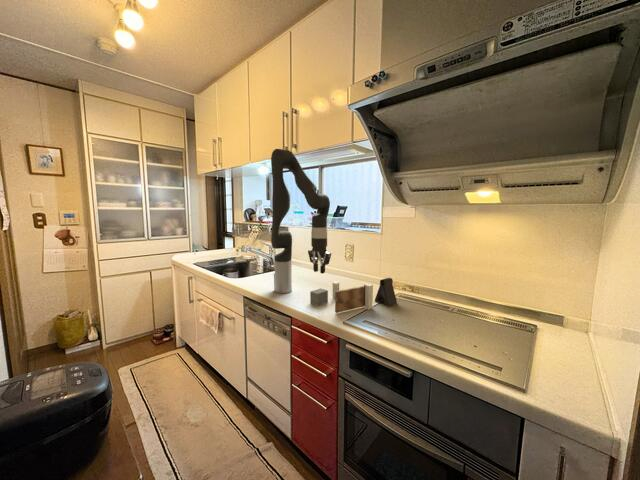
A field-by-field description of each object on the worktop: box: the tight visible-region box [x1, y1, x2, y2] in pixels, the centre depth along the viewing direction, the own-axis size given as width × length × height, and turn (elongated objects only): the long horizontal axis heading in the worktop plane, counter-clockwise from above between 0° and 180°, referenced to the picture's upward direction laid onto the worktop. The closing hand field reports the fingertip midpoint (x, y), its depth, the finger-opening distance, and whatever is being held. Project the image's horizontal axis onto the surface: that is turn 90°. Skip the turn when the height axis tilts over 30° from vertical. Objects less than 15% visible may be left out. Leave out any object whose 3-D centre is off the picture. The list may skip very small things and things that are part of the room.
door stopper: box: [374, 277, 398, 307], centre depth 125 cm, size 9×6×12 cm, turn 37°
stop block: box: [309, 287, 329, 307], centre depth 125 cm, size 5×7×6 cm
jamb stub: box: [332, 281, 340, 299], centre depth 132 cm, size 2×2×8 cm
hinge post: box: [364, 283, 374, 310], centre depth 118 cm, size 2×3×11 cm, turn 136°
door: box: [334, 284, 367, 314], centre depth 115 cm, size 17×2×10 cm, turn 119°
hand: (319, 272), depth 124 cm, fingers open, 4 cm apart
